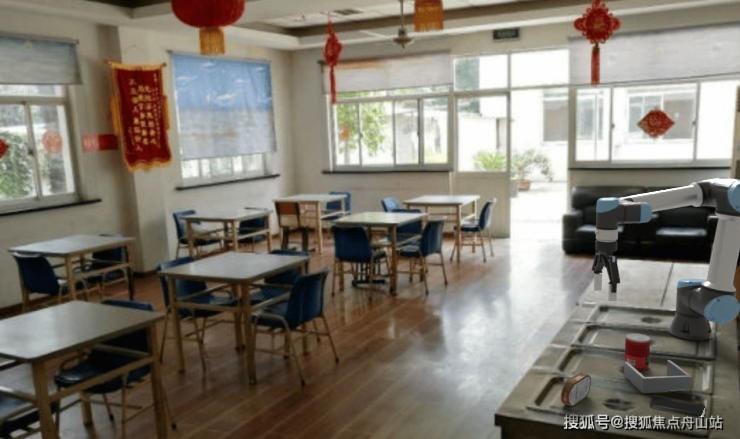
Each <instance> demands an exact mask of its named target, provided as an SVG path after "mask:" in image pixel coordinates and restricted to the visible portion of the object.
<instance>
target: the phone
mask: <svg viewBox="0 0 740 439" xmlns="http://www.w3.org/2000/svg"><path fill="white" fill-rule="evenodd" d="M705 406H706V404H702V403H700V402H699V403H698V402H693V401H689V400H688V401H687V400H682V399H677V398H672V397H667V396H660V395H654V394H653V395H651V396H650V400H649V407H650V408H653V409H657V410H661V411H667V412H671V413H672V412H673V413H677V414H682V415H688V416H692V417H697V418H700V417H699V416H701V415H702V413H703V410H704V408H705Z"/></svg>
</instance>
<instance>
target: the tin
mask: <svg viewBox="0 0 740 439" xmlns="http://www.w3.org/2000/svg"><path fill="white" fill-rule="evenodd" d="M591 384H592V377H591V375H590V374H588V373H584V372H583V371H581V372H578V373H576V374H575V375H573V376H571V377H570V378H568V379H566V381H565V383H564V385H563V387H562V389H561V393H560V402H561V403H562V404H563V405H566V406H568V407H574V406H576V405H577V404H578V403H579V404H580V402H581V401H584V400H585V399H586V398H587V396H588V395H589V392H591Z"/></svg>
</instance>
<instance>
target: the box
mask: <svg viewBox="0 0 740 439" xmlns="http://www.w3.org/2000/svg"><path fill="white" fill-rule="evenodd" d="M666 361H667V362H666V364H667V365H666V375H667V376H665V375H662V376H644V375H643V373H641V372H640V371H639V370H636V369H635V368H634V367H633V366H631V365H630V364H629V363H628V362H625V361H623V364H624V365H623V377H624V378H626V379H627V380H628V379H629V380H630V381H632V382H633V383H634V384H635V386H636V387H635V386H634V387H635V388H636V389H637V390H639V391H640V392H641V394H653V393H657V394H658V393H669V392H668V391H670V390H674V389H677V390H678V389H685V390H686V389H687V390H688V389H689V390H691V391H692V386H693V384H692V383H693V376H692V375H690V374H689V373H688V372H686V371H685V370H684V369H683V368H681V367H680V366H678V365H677V364H676V363H675V362H673V361H672V360H671V359H670V360H669V359H668V360H666ZM629 380H628V381H629ZM630 381H629V382H630Z"/></svg>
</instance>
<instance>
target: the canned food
mask: <svg viewBox="0 0 740 439" xmlns="http://www.w3.org/2000/svg"><path fill="white" fill-rule="evenodd" d="M624 339H625V342H624V362H628V363H629V364H630V365H631V366H633V367H634V368H635V369H636V370H637V371H645V370H648V368H649V366H650V352H651V351H650V350H651V338H650V336H649V335H647V334H642V333H638V332H637V333H636V332H635V333H633V332H632V333H631V332H630V333H627V334H626V335H625V338H624Z"/></svg>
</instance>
